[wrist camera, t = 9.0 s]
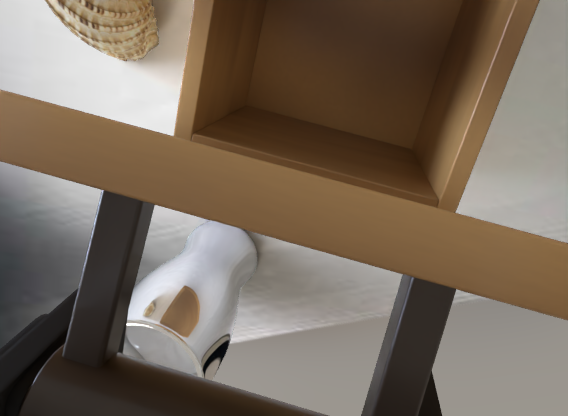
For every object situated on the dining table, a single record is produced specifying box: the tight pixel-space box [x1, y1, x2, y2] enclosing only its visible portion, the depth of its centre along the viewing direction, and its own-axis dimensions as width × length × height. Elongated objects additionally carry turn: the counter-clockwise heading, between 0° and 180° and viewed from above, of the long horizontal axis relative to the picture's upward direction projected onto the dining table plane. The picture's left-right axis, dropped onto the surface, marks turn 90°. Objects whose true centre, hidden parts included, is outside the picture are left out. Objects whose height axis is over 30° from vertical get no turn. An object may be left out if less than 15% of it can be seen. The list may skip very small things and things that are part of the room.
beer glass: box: [123, 221, 257, 380], centre depth 31 cm, size 7×7×15 cm
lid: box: [0, 90, 568, 416], centre depth 14 cm, size 17×14×6 cm
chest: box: [174, 0, 540, 213], centre depth 25 cm, size 16×14×12 cm
